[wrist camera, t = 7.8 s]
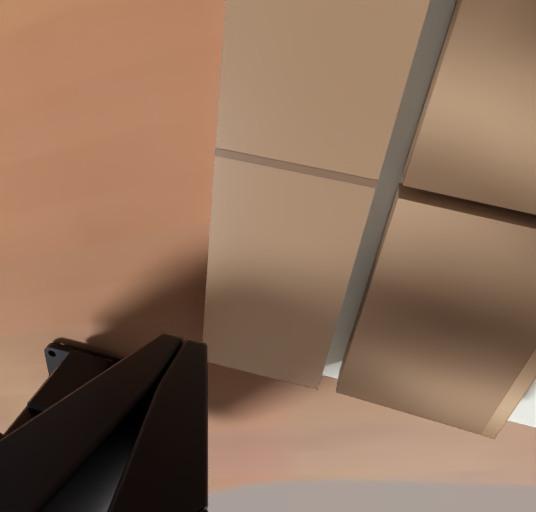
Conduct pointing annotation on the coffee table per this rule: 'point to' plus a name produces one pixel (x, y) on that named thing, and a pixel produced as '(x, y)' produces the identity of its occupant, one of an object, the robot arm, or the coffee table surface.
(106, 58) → the coffee table surface
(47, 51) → the coffee table surface
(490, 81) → the plank
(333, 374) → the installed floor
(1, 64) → the coffee table surface
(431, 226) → the plank
